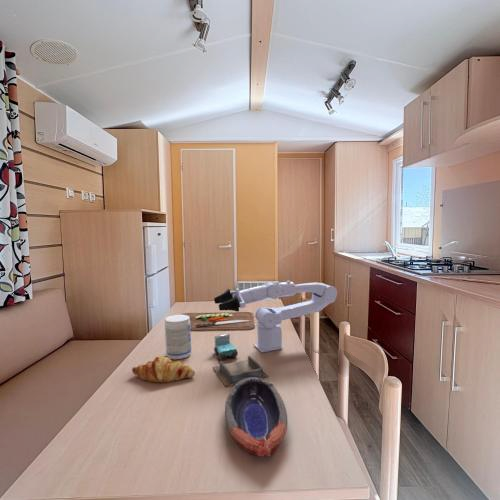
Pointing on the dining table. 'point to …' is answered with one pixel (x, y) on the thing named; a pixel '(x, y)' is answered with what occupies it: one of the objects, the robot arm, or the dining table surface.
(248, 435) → the dish
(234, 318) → the chopping board
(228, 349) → the trolley
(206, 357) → the dining table surface
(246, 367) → the dock bay
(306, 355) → the dining table surface
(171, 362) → the croissant
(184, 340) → the supplement tub
